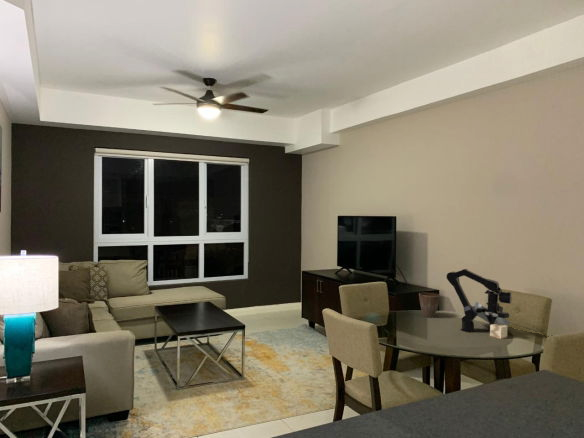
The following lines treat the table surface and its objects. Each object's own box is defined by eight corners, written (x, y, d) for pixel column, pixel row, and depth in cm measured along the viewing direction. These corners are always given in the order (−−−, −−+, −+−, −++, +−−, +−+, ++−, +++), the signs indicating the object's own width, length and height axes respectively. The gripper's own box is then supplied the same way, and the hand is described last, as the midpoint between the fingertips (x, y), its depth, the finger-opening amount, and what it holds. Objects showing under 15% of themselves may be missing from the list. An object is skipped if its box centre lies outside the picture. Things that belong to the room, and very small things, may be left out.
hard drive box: (510, 322, 284) (482, 305, 286) (504, 332, 284) (475, 315, 287) (502, 317, 299) (475, 301, 302) (496, 326, 300) (469, 310, 302)
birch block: (489, 336, 276) (490, 324, 276) (496, 334, 280) (496, 323, 279) (500, 338, 270) (501, 327, 270) (507, 337, 274) (507, 325, 274)
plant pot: (425, 313, 334) (425, 291, 334) (443, 317, 323) (444, 294, 323) (414, 316, 324) (414, 293, 324) (432, 320, 313) (433, 297, 313)
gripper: (514, 303, 275) (513, 328, 275) (486, 297, 290) (485, 321, 291) (504, 304, 269) (503, 330, 269) (476, 299, 284) (475, 323, 284)
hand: (491, 326), depth 278 cm, fingers closed
